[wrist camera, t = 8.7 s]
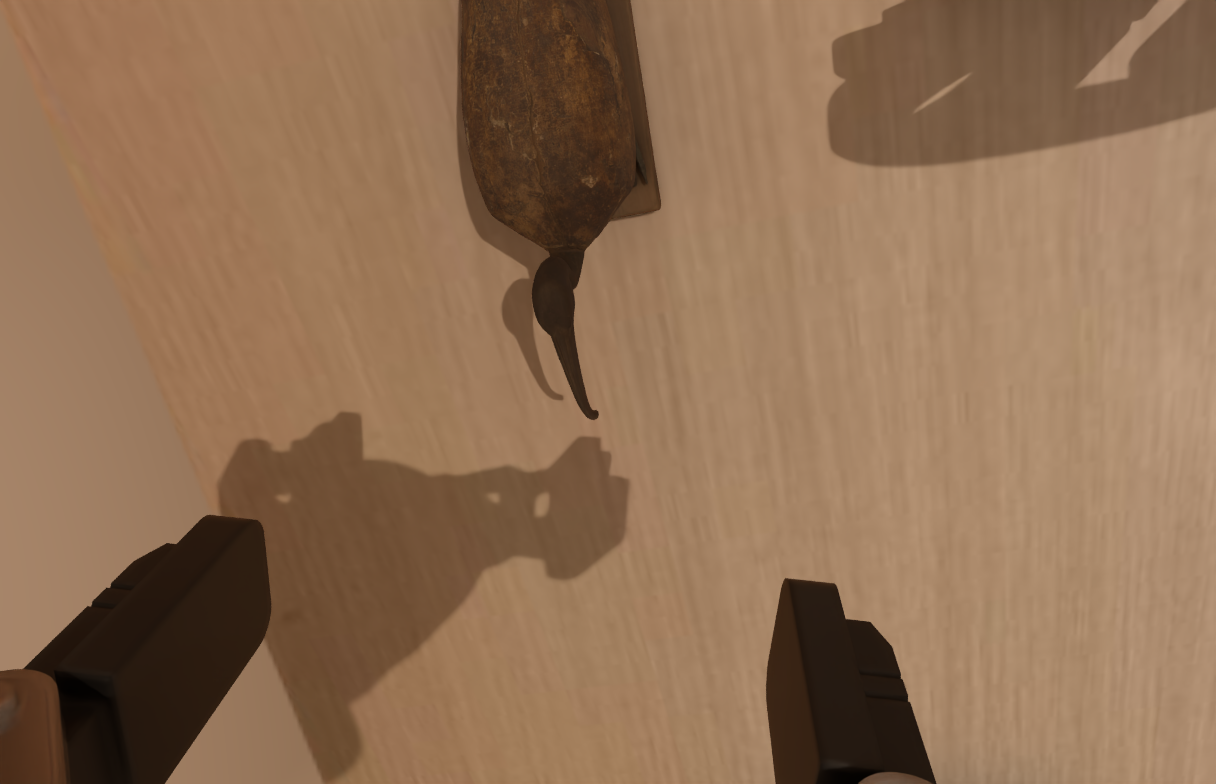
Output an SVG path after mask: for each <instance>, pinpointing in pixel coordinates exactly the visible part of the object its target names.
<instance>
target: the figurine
mask: <svg viewBox="0 0 1216 784" xmlns="http://www.w3.org/2000/svg"><path fill="white" fill-rule="evenodd" d="M461 1H462V36H461V86H462V110H463V118H464V125H465V133H466V139H467V145H468V150H469V155H470V159H471V163H472V167H473V171H474V174H475V178H476V181H477V184H478V186H479V189H480V192H481V194H482V197H483V199H484V202H485V204H486V206H487V208H488V210H489V211H490V213H491V214H492V216H493V217H495V218H496V219H497V220H499V221H500V222H502V223H504V224H505V225H507V226H508V227H510V228H511V229H513V230H514V231H516V232H517V233H519V234H520V235H522V236H524V237H526V238H528V239H529V240H531V241H533V242H534V243H536V244H538V245H539V246H541V247H543V248H544V249H545V250H547V251H549V253H550V258H547V259H546V260H545V261H543V262H542V263H541V265H540V266H539V268H538V270H537V272H536V275H535V278H534V283H533V288H532V302H533V308H534V312H535V316H536V318H537V320H538V323H539V324H540V326H541V327H542V328H543V329H544V330H545V331H546V332H547V333H548V334H549V335H550V336H551V338H552V341H553V343H554V346H555V349H556V352H557V355H558V357H559V360H560V362H561V364H562V367H563V369H564V372H565V375H566V377H567V380H568V382H569V385H570V387H571V390H572V392H573V395H574V397H575V399H576V401H577V403H578V405H579V407H580V409H581V410H582V412H583V413H584V414H585V416H586V417H587V418H589V419H591V420H595V419H597V418H598V415H599V413H598V411H597V410H592V409H591V407H590V405H589V402H588V399H587V396H586V392H585V387H584V383H583V379H582V374H581V369H580V364H579V359H578V353H577V348H576V342H575V334H574V309H575V299H574V293H573V289H575V288H576V286H577V284H578V282H579V278H580V274H581V269H582V264H583V259H584V251H585V250H586V248H587V247H588V246H589V245H590V244H591V243H592V242H593V240H594V239H595V238H597V237H598V236H599V234H600V233H601V232H602V230H603V229H604V228H605V226H606V225H607V224H608V222H609V221H610V219H613V218H618V217H624V216H629V215H635V214H640V213H646V212H651V211H656V210H660V208H661V200H660V194H659V188H658V181H657V175H656V169H655V163H654V156H653V149H652V143H651V136H650V129H649V122H648V115H647V109H646V102H645V95H644V89H643V82H642V75H641V69H640V62H639V56H638V49H637V43H636V36H635V30H634V23H633V15H632V9H631V3H630V0H461Z"/></svg>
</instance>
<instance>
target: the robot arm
mask: <svg viewBox="0 0 1216 784" xmlns="http://www.w3.org/2000/svg"><path fill="white" fill-rule="evenodd" d="M270 614H271V596H270V586H269V576H268V567H267V557H266V547H265V537H264V531H263V527H262V525H261V523H260V522H259V521H258V520H253V519H244V518H234V517H225V516H216V515H207V516H205V517H203V518H202V519H201V520H200V521H199V522H198V523H197V524H196V525H195V526H194V527H193V528H192V529H191V530H190V531H189V532H188V533H187V534H186V535H185V536H184V537H183V538H182V539H181V540H180V541H179V542H178V543H177V544H170V543H166V544H165V545H163V546H161V547H159V548H157V549H155V550H154V551H152V552H150V553H148V554H146V555H145V556H143V557H141V558H139V559H137V560H135V561H134V562H133V563H132V564H130V565H129V566H128V567H127V568H126V569H125V570H124V571H123V572H122V573H121V574H120V575H119V576H118V577H117V578H116V579H115V580H114V581H113V582H112V583H111V587H110V588H106V589H105V590H104V591H103V592H102V593H101V594H100V595H99V596H98V597H97V598H96V599H94V601H93V602H92V606H91V607H89V606H87V607H86V608H85V609H84V610H83V611H82V612H81V613H80V614H79V615H78V616H77V617H76V618H75V619H74V620H73V621H72V622H71V623H70V624H69V625H68V626H67V627H66V628H65V629H64V630H63V631H62V632H61V633H59V635H57V636H56V637H55V638H54V639H53V640H52V641H51V642H50V643H49V644H48V645H47V646H46V647H45V648H44V649H43V650H42V651H41V652H40V653H39V654H38V655H37V656H36V657H35V658H34V659H33V660H32V661H31V662H30V663H29V664H28V665H27V666H26V667H25V668H24V669H15V670H6V671H0V784H165V782H166V781H167V780H168V778H169V777H170V775H171V774H172V772H173V771H174V769H175V768H176V766H177V765H178V764H179V762H180V761H181V759H182V758H183V756H184V755H185V753H186V752H187V750H188V749H189V748H190V746H191V745H192V743H193V742H194V740H195V739H196V737H197V736H198V734H199V733H200V732H201V730H202V729H203V727H204V726H205V724H206V723H207V721H208V720H209V718H210V717H211V716H212V714H213V713H214V711H215V710H216V708H217V707H218V705H219V704H220V702H221V701H222V699H223V698H224V697H225V695H226V694H227V692H228V691H229V689H230V688H231V687H232V685H233V684H234V682H235V681H236V679H237V678H238V676H239V675H240V673H241V672H242V670H243V669H244V667H245V666H246V665H247V663H248V662H249V660H250V659H251V657H252V656H253V655H254V653H255V652H256V650H257V649H258V647H259V646H260V644H261V643H262V641H263V639H264V636H265V634H266V631H267V628H268V625H269V620H270ZM766 700H767V711H768V720H769V729H770V737H771V746H772V755H773V764H774V773H775V782H776V784H936V781H935V778H934V775H933V772H932V769H931V765H930V762H929V759H928V756H927V753H926V750H925V747H924V744H923V741H922V738H921V735H920V732H919V728H918V725H917V722H916V719H915V716H914V713H913V710H912V707H911V704H910V702H908V694H907V691H906V688H905V685H904V682H903V679H901V673H900V670H899V667H898V664H897V661H896V657H895V654H894V651H893V648H892V646H891V645H890V644H889V643H888V642H887V641H886V639H885V638H884V637H883V636H882V635H881V634H880V633H879V631H878V630H877V629H876V628H875V627H874V626H873V625H872V623H871V622H867V621H858V620H849V619H845V615H844V611H843V607H842V604H841V600H840V596H839V592H838V589H837V586H836V584H834V583H825V582H815V581H806V580H797V579H788V578H785V579H784V581H783V584H782V588H781V593H780V598H779V604H778V609H777V615H776V620H775V626H774V632H773V637H772V643H771V648H770V654H769V660H768V667H767V681H766Z"/></svg>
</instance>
